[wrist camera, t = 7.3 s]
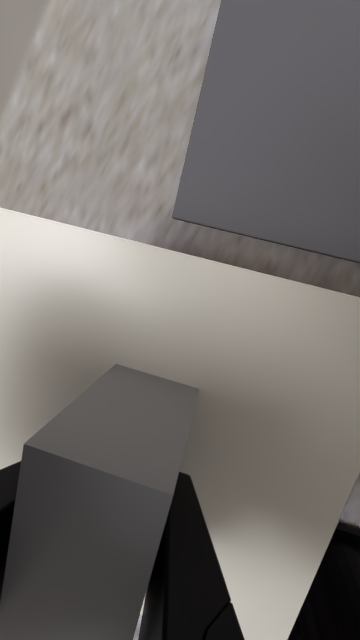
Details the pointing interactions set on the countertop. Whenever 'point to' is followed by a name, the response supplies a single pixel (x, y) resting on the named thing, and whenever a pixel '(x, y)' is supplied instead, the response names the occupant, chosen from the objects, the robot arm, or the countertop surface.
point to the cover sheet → (219, 345)
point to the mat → (279, 127)
